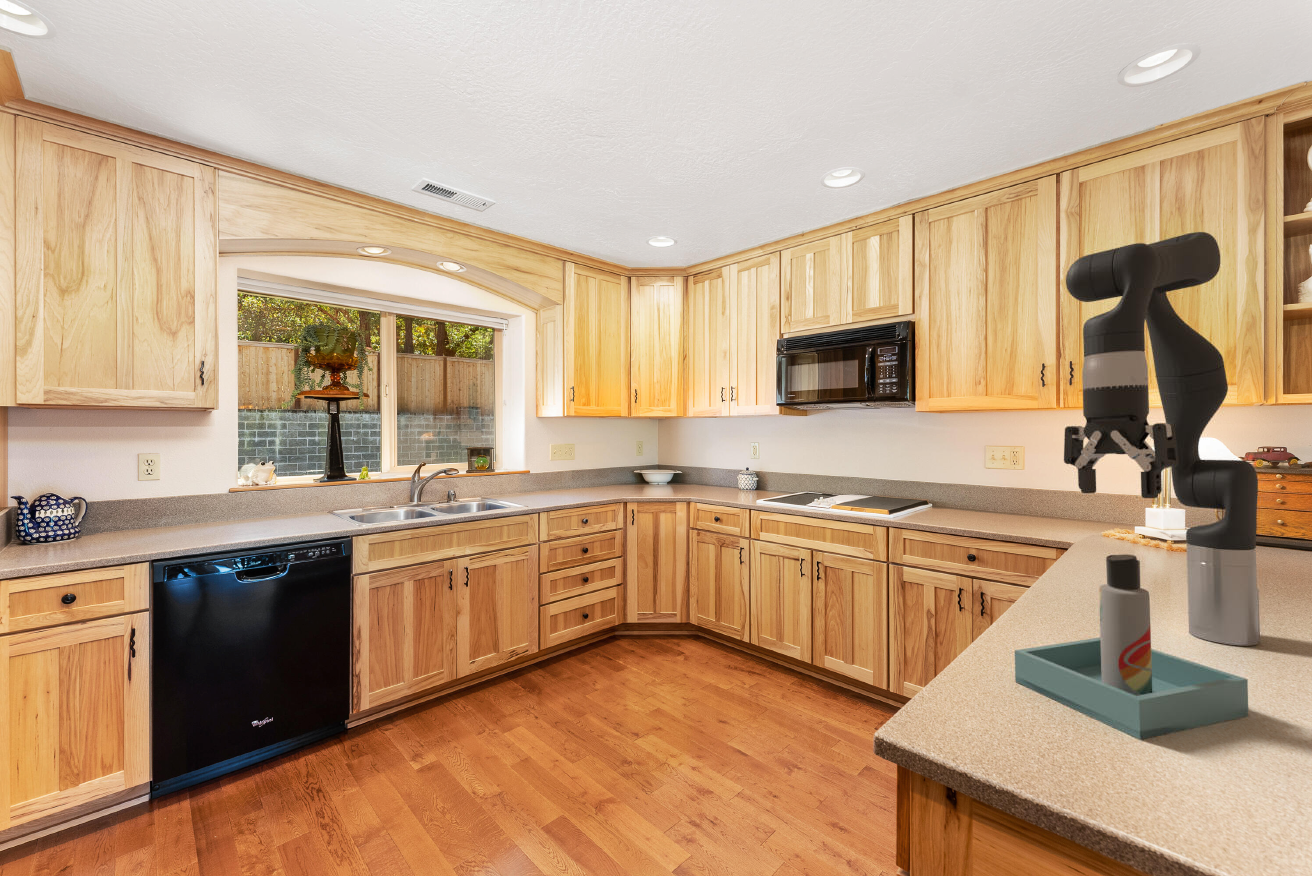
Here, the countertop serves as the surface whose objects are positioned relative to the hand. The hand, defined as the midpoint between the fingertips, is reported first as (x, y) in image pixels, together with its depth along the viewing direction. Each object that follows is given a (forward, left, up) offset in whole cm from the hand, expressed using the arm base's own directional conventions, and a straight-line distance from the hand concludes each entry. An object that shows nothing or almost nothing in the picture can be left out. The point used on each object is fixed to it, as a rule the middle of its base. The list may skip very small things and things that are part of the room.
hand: (1117, 495), depth 83 cm
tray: (0, 0, -30) cm, 30 cm away
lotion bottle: (0, 0, -29) cm, 29 cm away
